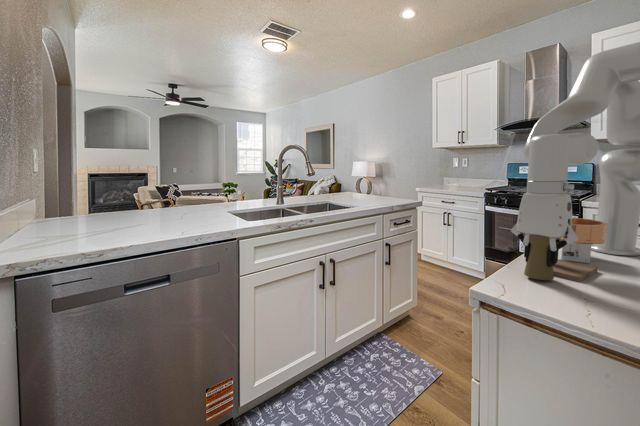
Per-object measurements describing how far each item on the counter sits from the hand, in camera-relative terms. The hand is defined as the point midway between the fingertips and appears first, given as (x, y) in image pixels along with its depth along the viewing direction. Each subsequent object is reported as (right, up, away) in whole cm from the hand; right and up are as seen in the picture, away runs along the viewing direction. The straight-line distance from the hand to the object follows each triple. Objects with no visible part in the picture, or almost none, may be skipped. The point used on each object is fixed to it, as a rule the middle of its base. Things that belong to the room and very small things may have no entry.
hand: (540, 262), depth 76 cm
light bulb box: (+22, -1, +17) cm, 28 cm away
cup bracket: (+11, -3, +5) cm, 12 cm away
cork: (0, -3, +1) cm, 3 cm away
